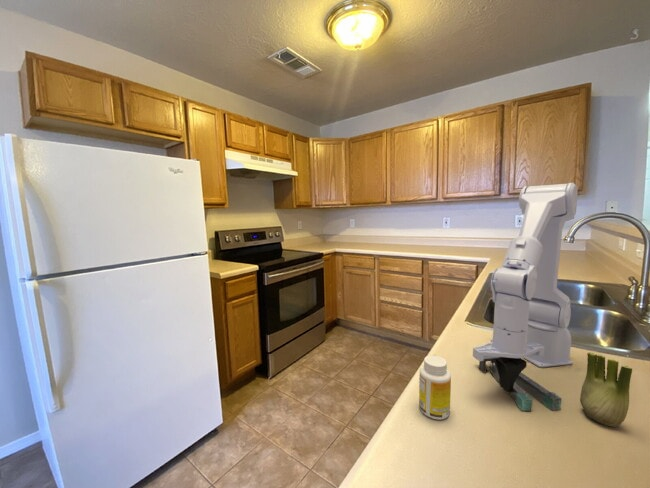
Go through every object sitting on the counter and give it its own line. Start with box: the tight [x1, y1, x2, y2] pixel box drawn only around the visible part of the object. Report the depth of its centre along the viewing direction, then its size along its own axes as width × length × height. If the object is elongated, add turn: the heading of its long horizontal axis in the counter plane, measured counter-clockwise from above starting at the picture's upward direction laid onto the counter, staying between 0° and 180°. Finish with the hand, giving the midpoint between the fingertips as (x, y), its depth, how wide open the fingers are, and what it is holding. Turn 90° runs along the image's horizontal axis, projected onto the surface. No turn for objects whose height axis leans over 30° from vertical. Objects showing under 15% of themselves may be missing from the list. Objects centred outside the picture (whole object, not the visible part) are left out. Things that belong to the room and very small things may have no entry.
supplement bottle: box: [418, 355, 452, 420], centre depth 53 cm, size 6×6×10 cm
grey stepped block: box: [478, 358, 493, 373], centre depth 67 cm, size 7×3×4 cm, turn 98°
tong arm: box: [490, 365, 533, 412], centre depth 58 cm, size 2×12×2 cm, turn 175°
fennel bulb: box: [579, 351, 633, 427], centre depth 50 cm, size 6×5×12 cm
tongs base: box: [489, 361, 562, 412], centre depth 60 cm, size 4×15×2 cm, turn 8°
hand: (505, 389), depth 57 cm, fingers closed, pressing on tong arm
